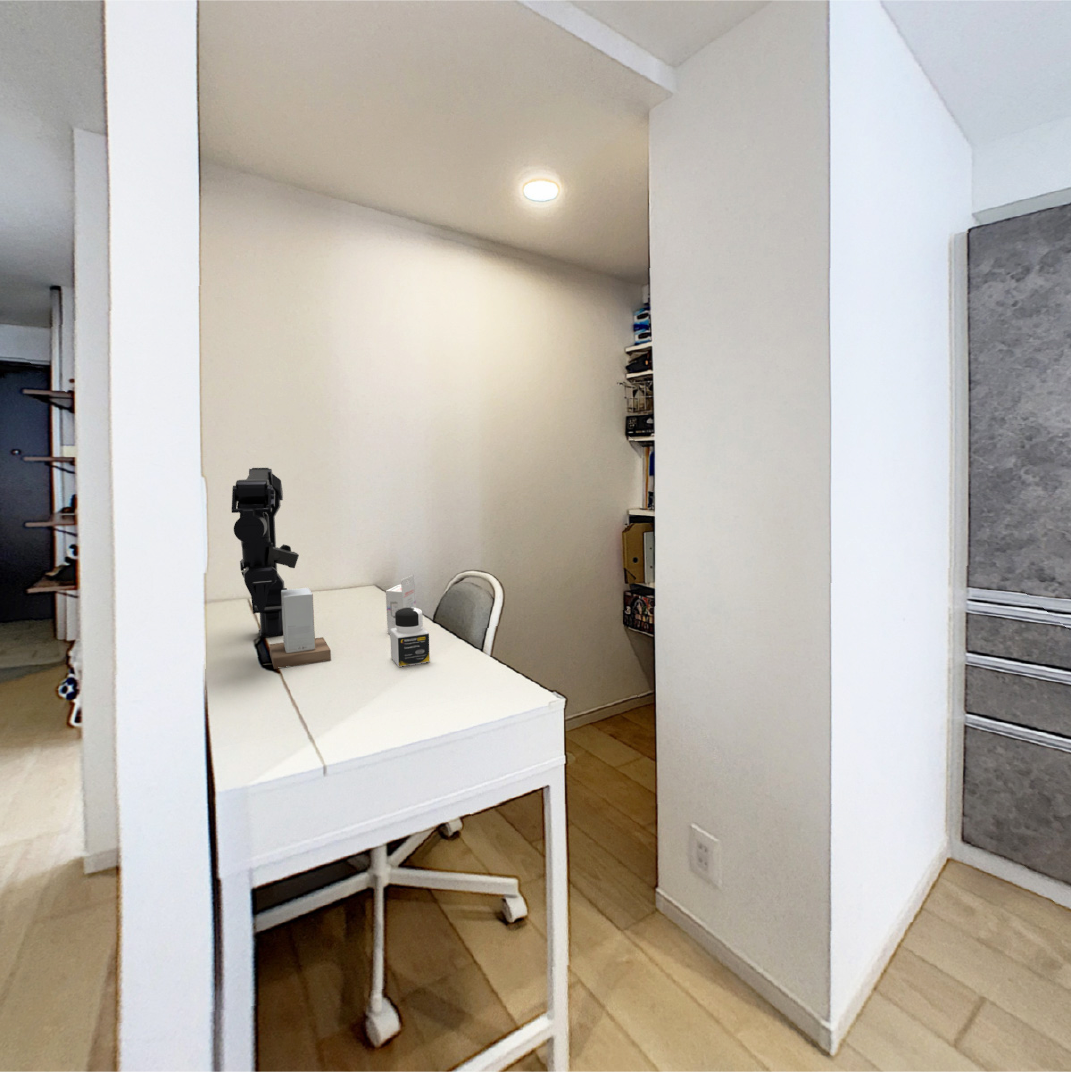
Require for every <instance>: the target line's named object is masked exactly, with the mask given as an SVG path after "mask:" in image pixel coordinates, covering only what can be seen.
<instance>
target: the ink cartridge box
mask: <svg viewBox="0 0 1071 1072" xmlns="http://www.w3.org/2000/svg"><path fill="white" fill-rule="evenodd" d="M408 581H409V582H408ZM407 582H408V583H407ZM416 600H417V599H416V584H415V576H414V574H413V573H412V574H411V575H408V576H406V577H404V578H402V579H401V580H400V584H397V585H395V586H393V587H391V588H389V589H387V590H385V605H386V606H385V607H386V620H387V621H386V622H387V623H386V626H387V628H386V629H387V634H388V635H390V629H392V628H396V623H395V613H396V611H398V610H400V609H402V608H417V607H416V605H417V604H416V603H417V602H416Z"/></svg>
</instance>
